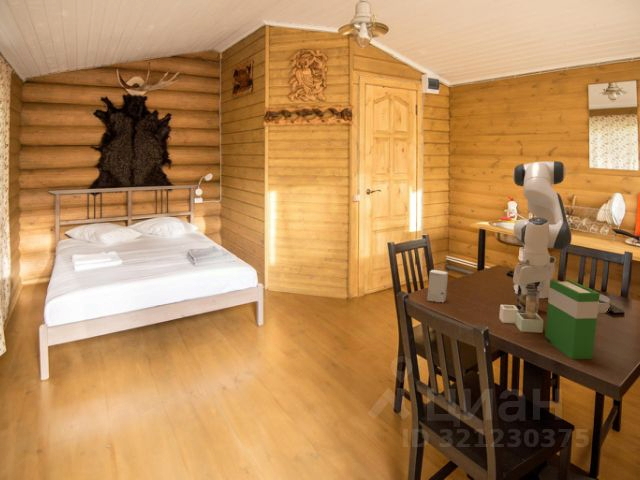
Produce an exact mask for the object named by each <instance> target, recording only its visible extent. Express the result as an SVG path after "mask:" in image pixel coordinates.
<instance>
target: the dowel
mask: <svg viewBox="0 0 640 480" xmlns="http://www.w3.org/2000/svg"><path fill="white" fill-rule="evenodd" d="M527 293H528V294H527V298H526V310H525V312H524V313H525V319H532V320H534V317H535V306H536V295H537V294H536V293H533V292H527Z"/></svg>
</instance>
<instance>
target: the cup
mask: <svg viewBox="0 0 640 480" xmlns="http://www.w3.org/2000/svg"><path fill="white" fill-rule="evenodd" d="M516 306H517V305H514V304H513V305H512V304H500V305H499V317H498V318H499V320H500V322H502V324H516V313H519V311H518V309H517V308H516Z"/></svg>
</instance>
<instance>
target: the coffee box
mask: <svg viewBox="0 0 640 480" xmlns="http://www.w3.org/2000/svg"><path fill="white" fill-rule="evenodd" d="M539 284H540V282H535V283H530V284H527V287H526V290H528V292H533V293H536V294H537V295H536V306H535V314H538V313H539V305H540V298H539V295H540V291H538V290H537V286H539ZM521 291H522V290H521V288H520V285H518V294H517V295H516V296H517V297H516V298H517V299H516V305H515V306H516V308H517V309H518V312H519V313H525V310H526V298H527V294H526V295H523V294H522V293H521ZM538 315H539V314H538Z"/></svg>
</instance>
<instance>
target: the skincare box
mask: <svg viewBox="0 0 640 480" xmlns="http://www.w3.org/2000/svg"><path fill="white" fill-rule="evenodd" d="M448 276H449V271H443V270H437V269H431V270H430V271H429V275H428V286H427V298H426V300H427V301H428V302H434V301H435V303H440V302H442V303H441V304H443V303H444V302H446V299H447V290H448V289H447V288H448V278H449V277H448Z"/></svg>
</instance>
